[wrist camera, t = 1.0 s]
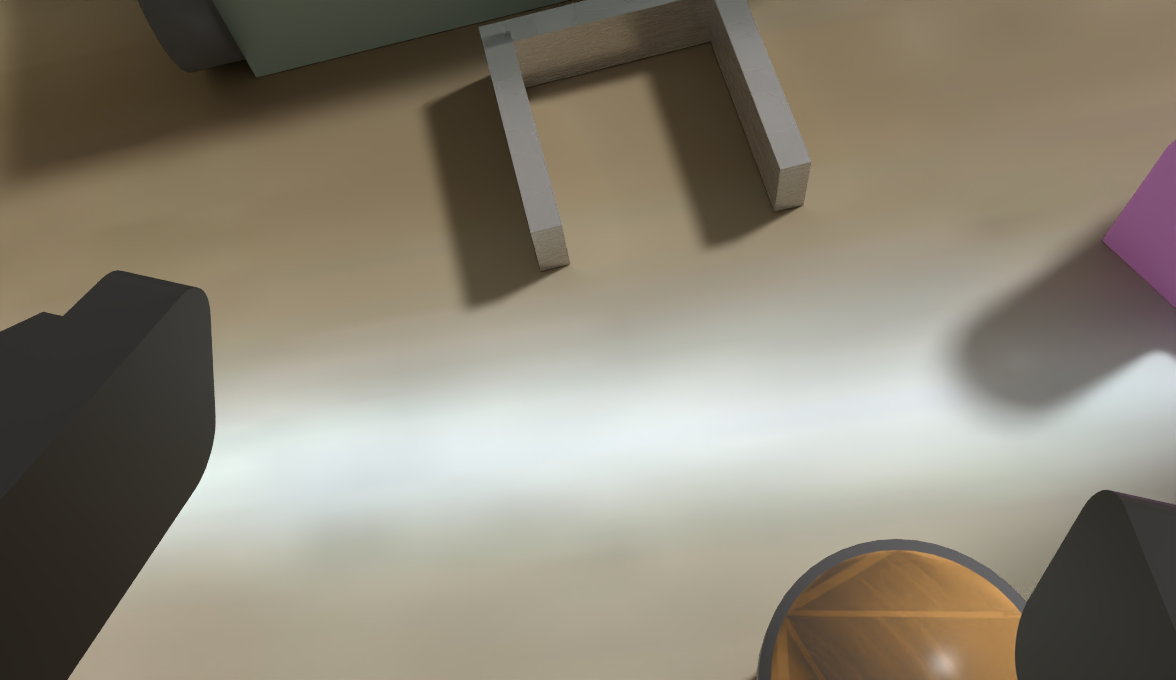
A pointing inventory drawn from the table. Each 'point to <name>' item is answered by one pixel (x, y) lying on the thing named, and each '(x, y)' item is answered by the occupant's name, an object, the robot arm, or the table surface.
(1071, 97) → the table surface
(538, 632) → the table surface
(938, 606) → the orange pill bottle
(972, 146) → the table surface
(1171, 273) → the bracket
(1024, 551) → the table surface
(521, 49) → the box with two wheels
